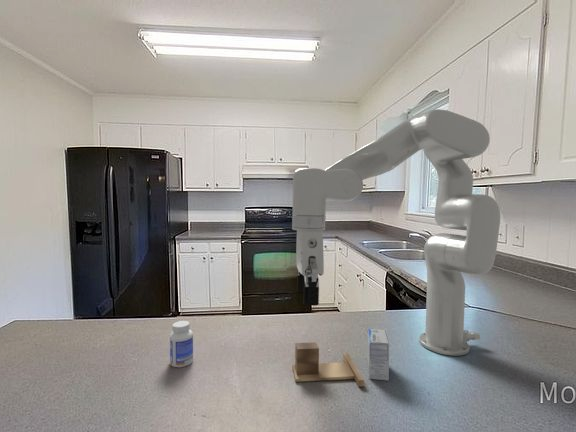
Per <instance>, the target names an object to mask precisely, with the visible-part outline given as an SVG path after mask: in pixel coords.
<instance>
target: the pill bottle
mask: <svg viewBox="0 0 576 432" xmlns="http://www.w3.org/2000/svg"><path fill="white" fill-rule="evenodd" d="M190 327H191V325H190V322H189V321H187V320H180V321H179V320H178V321H176V322H174V323H173V324H172V327H171V328H172V332H171V333H170V335H169V364H170V366H172V367H174V368H184V367H187V366H190V365H191V364H192V363H193V362H194V333H193V330H191V329H190Z"/></svg>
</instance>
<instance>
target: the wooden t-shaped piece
mask: <svg viewBox="0 0 576 432" xmlns="http://www.w3.org/2000/svg"><path fill="white" fill-rule="evenodd" d="M294 344H295V345H294V346H295V349H294V351H295V353H294V354H295V355H294V357H295V360H294V362H295V363H294V364H292V373H293V376H294V381H295V382H297V383H298V382H299V383H301V382H315V381H321V382H322V381H335V380H339V381H340V380H354V381H355V382H356V385H357V386H358V387H359V388H360V387H361V388H362V387H365V379H364V377H363V376H362V374H361V373H360V371H359V369H358V368H357V366H356V364H355V363H354V361H353V359H352V357H351V356H350V354H349V353H348V352H342V359H343V362H326V363H325V362H324V363H320V361H319V360H320V348H319V345H318V343H317V342H313V341H312V342H295V343H294Z"/></svg>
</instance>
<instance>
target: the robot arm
mask: <svg viewBox="0 0 576 432" xmlns="http://www.w3.org/2000/svg"><path fill="white" fill-rule="evenodd" d="M490 142H491V141H490V134H489V130H488V129H487V127H485V126H484V125H483V124H482V123H481V122H480V121H478V120H477V121H476V120H474V119H471V118H469V117H466V116H464V115H462V114H458V113H456V112H452V111H450V110H446V109H445V110H444V109H441V108H439V109H432V110H428V111H426V112H423V113H420V114H417V115H414V116H411V117H408V118H407V119H405V120H404V121H402V122H400V123H398V124H397V125H396V126H395V127H393V128H391V129H389V130H388V131H387V132H385V133H384V134H382V135H380V136H379V137H378V138H376V139H374V140H372V141H371V142H370V143H368V144H366V145H364V146H362V147H361V148H358V150H355V151H354V152H352V153H351V154H348V155H346V156H345V157H344V158H342V159H340V160H338V161H336V162H335V163H334V164H332V165H330V166H328V167H327V168H326V169H322V168H317V167H302V168H298V169H296V170H295V171H294V173H293V175H292V214H291V215H292V216H291V217H292V220H291V221H292V222H291V227H292V228H291V229H292V230H293V231H296V242H295V243H296V244H295V245H296V246H295V247H296V250H295V251H296V254H295V255H296V256H295V259H296V260H295V262H296V269H297V276H296V277H297V278H296V279H297V284H296V290H297V292H298V293H303V302H302V303H303V305H304V306H307V307H308V306H318V305H319V301H320V297H319V296H320V282H319V281H320V280H319V276H320V277H322V276H323V275H324V273H325V267H324V261H325V260H324V257H325V256H324V239H323V238H324V237H323V231H324V232H325V231H326V219H327V218H326V217H327V216H326V214H327V213H326V212H327V211H326V210H327V207H326V206H327V205H326V204H327V203H329V202H331V203H332V202H334V203H344V202H345V203H346V202H347V203H348V202H352V201H353V200H355V199H357V198H359V196H360V195H361V194H362V192H363V189H364V180H367V179H370V178H374V177H377V176H381V175H384V174H386V173H388V172H390V171H392V170H395V169H396V168H397V167H398V166H399V165H401V164H403V163H404V162H405V161H406V160H408V159H409V158H411V157H412V156H414V155H415V154H417V153H418V152H419V151H421V150H423V154H424V155H425V157H426V158H427V160H428V161H429V162H430V163H431V164H432V166H433V167H434V169H435V171H436V173H437V177H438V180H437V182H438V183H437V184H438V185H437V193H436V198H435V199H436V200H435V208H434V220H435V223H436V224H437V225H438V226H440V227H441V228H444V229H450V230H457V231H466V235H463V234H462V235H461V234H454V233H445V232H444V233H443V232H442V233H441V232H440V233H434V234H433V235H431V236H429V237H428V238H427V239H426V241H425V243H424V246H423V252H424V253H423V254H424V261H425V266H426V299H425V300H426V302H425V303H426V304H425V305H426V306H425V332H423V333H421V334H420V335H419V341H418V342H419V343H420V344H421V345H422V347H424V348H426V350H427V349H428V350H430V351H432V352H434V353H437V354H440V355H445V356H453V357H458V356H465V355H467V354H468V353H469V352H470V344H469V343H468V342H470V341H471V340H472V341H478V340H480V339H481V337H480V334H479V332H469V330H467V329H465V303H466V302H465V301H466V283H465V279H464V276H463V275H462V273H465V274H469V275H473V276H474V275H475V276H482V275H485V274H487V273H489V272H490V271H491V269H492V268H493V266H494V263H495V260H496V255H497V247H498V240H499V234H500V233H499V232H500V224H501V210H500V206H499V204H498V202H497V200H495V198H493V197H492V196H490V195H487V194H477V193H476V194H474V193H473V186H474V175H473V172H472V170H471V169H470V167H469V165H468V164H467V163H466V162H465V160H464V159H472V158H476V157H478V156H481V155H482V154H484V152H486V150H487V149H488V148H489V146H490V145H489V144H490Z"/></svg>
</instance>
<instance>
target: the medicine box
mask: <svg viewBox="0 0 576 432" xmlns="http://www.w3.org/2000/svg"><path fill="white" fill-rule="evenodd" d="M366 336H367V337H366V338H367V340H366V341H367V342H366V343H367V344H366V345H367V347H366V348H367V349H366V350H367V351H366V352H367V353H366V363H367V370H368V379H370V380H378V381H386V382H387V381H389V380H390V343H389V340H388V339H389V338H388V335H387V332H386V330H385V329H378V328H367V335H366Z"/></svg>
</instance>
